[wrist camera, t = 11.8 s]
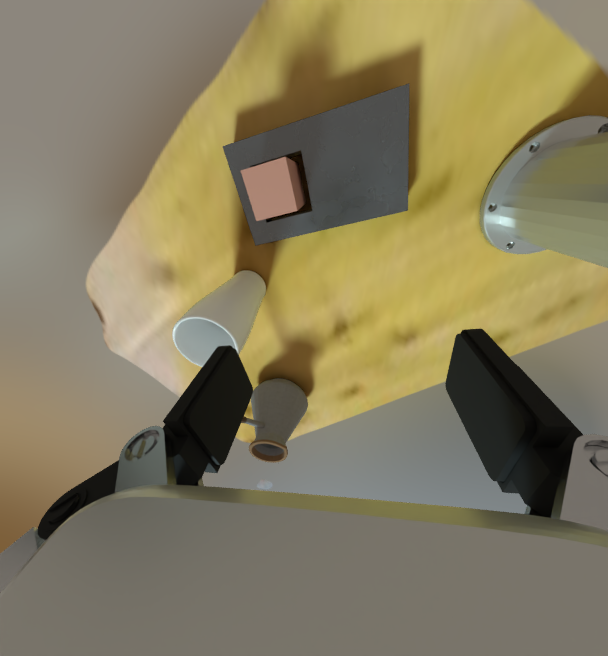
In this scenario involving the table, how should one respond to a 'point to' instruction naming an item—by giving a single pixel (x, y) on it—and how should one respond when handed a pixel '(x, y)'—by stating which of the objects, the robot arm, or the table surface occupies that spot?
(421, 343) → the table surface
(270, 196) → the square peg
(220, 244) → the table surface
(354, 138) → the square hole plate
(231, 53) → the table surface
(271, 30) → the table surface
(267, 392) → the coffee pot
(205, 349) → the drinking glass
